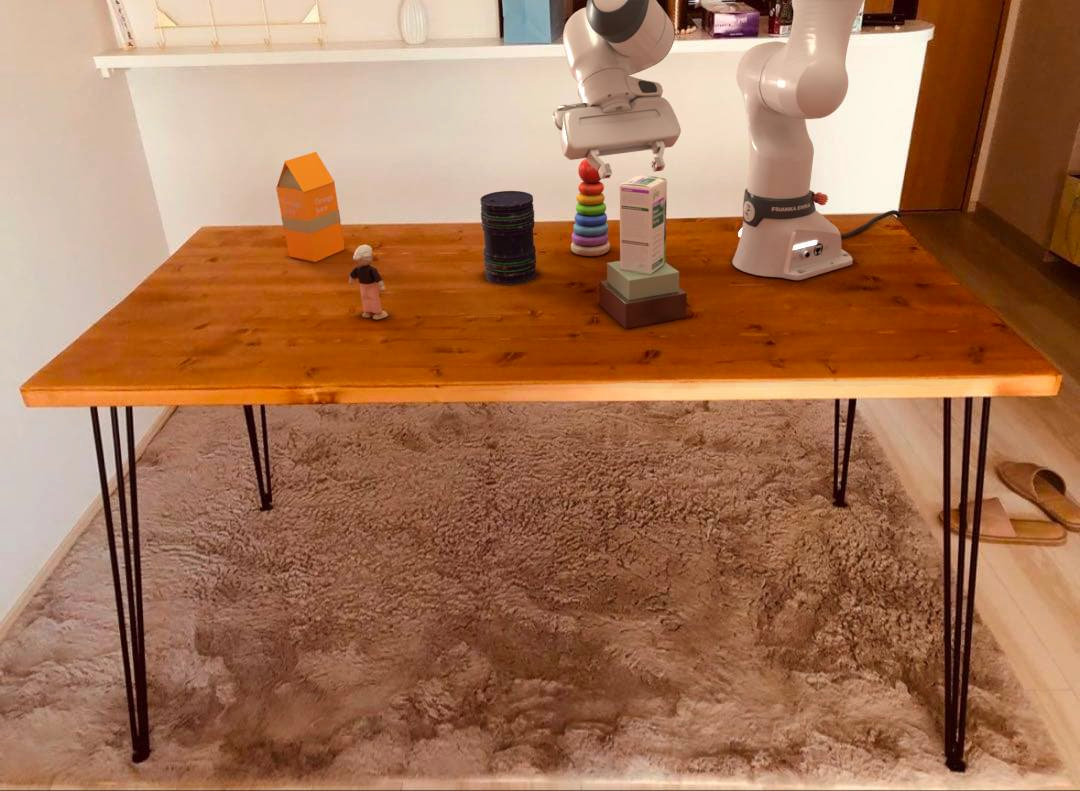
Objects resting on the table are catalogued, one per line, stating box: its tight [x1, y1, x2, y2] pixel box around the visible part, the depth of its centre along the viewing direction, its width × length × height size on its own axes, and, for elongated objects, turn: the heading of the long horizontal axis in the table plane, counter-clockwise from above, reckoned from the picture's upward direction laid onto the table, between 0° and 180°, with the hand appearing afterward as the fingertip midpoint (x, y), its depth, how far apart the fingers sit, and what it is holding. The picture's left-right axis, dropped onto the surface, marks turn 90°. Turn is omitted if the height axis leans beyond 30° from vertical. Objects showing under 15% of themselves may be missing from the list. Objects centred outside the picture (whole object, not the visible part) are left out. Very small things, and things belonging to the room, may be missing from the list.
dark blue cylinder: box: [480, 190, 537, 285], centre depth 158 cm, size 10×10×15 cm
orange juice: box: [275, 151, 345, 263], centre depth 173 cm, size 8×9×20 cm
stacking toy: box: [570, 158, 611, 257], centre depth 168 cm, size 8×8×19 cm
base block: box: [598, 279, 688, 330], centre depth 143 cm, size 11×11×4 cm
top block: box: [606, 260, 680, 300], centre depth 141 cm, size 9×9×4 cm
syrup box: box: [619, 175, 668, 275], centre depth 137 cm, size 6×6×14 cm
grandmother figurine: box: [348, 244, 389, 320], centre depth 144 cm, size 8×4×13 cm, turn 71°
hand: (633, 172), depth 137 cm, fingers open, 8 cm apart
